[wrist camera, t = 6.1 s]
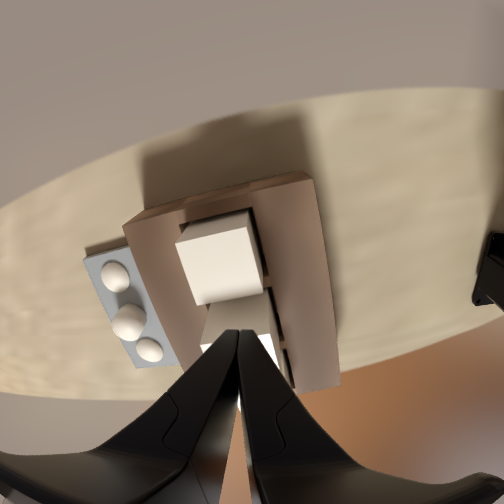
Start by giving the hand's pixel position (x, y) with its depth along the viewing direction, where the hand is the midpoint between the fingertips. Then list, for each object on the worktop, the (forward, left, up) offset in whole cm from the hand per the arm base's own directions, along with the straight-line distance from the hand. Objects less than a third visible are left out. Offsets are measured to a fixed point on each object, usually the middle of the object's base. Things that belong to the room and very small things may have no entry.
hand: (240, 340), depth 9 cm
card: (+9, +6, -10) cm, 15 cm away
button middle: (0, +4, -8) cm, 9 cm away
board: (0, +4, -10) cm, 11 cm away
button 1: (+1, 0, -10) cm, 10 cm away
